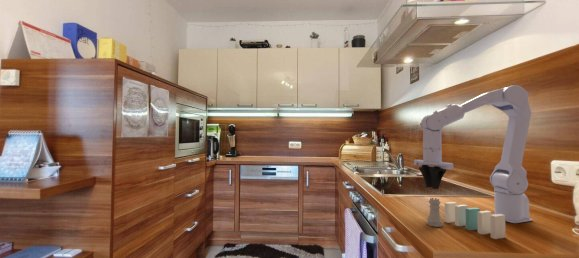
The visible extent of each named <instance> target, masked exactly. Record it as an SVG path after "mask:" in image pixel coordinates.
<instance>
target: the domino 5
mask: <svg viewBox="0 0 579 258" xmlns="http://www.w3.org/2000/svg"><path fill="white" fill-rule="evenodd" d="M490 223H491V233H490V238H491V239H493V240H500V239H504V238H506V221H505V215H503V214H496V215H490Z"/></svg>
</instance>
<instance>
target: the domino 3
mask: <svg viewBox="0 0 579 258" xmlns="http://www.w3.org/2000/svg"><path fill="white" fill-rule="evenodd" d="M479 211H481V208H479V207H468V208H466V225H465V229H466V230H468V231H473V230H474V231H475V230H476V231H478V217H477V212H479Z"/></svg>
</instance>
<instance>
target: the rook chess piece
mask: <svg viewBox="0 0 579 258" xmlns="http://www.w3.org/2000/svg"><path fill="white" fill-rule="evenodd" d="M428 203H429V214H428V217H427V218H426V220H427V221H426V224H427V225H428V226H430V227H434V228H442V227H443V226H444V223H443V219H442V217H441V214H440V208H441V207H440V204H441V201H440V199H439V198H437V197H436V198H434V197H430V198H429V200H428Z"/></svg>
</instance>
